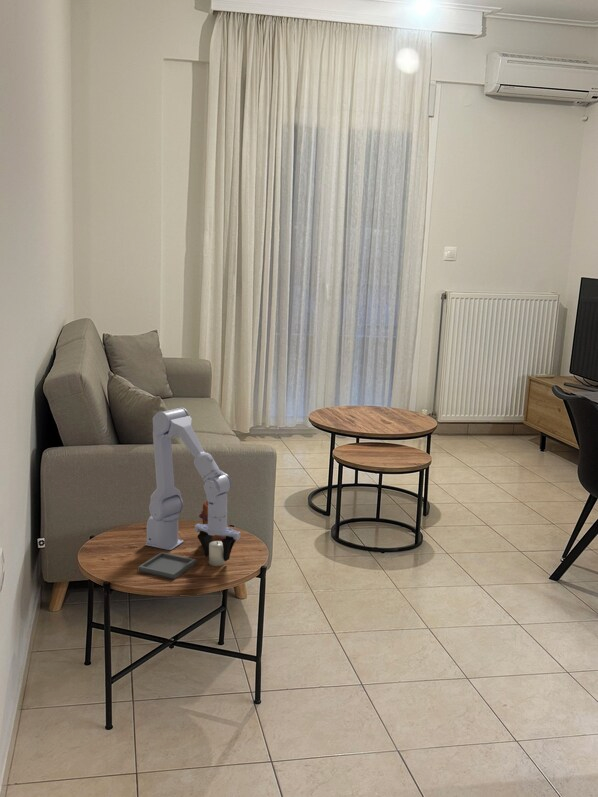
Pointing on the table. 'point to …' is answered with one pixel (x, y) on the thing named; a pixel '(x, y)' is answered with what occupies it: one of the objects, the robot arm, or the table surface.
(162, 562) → the tray
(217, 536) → the mug
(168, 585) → the table surface
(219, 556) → the candle
